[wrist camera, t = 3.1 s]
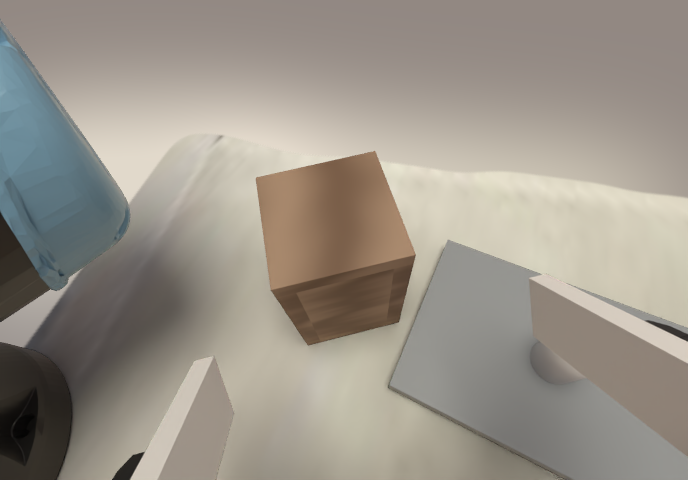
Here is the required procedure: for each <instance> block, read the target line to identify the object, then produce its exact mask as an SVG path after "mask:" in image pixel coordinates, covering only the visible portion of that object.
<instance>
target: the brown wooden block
mask: <svg viewBox="0 0 688 480" xmlns="http://www.w3.org/2000/svg"><path fill="white" fill-rule="evenodd" d="M256 184H257V191H258V198H259V206H260V213H261V221H262V228H263V235H264V243H265V250H266V257H267V265H268V272H269V280H270V287H271V291H272V292H273V294H274V295H275V297H276V298H277V300H278V301H279V303H280V304H281V306H282V307H283V309H284V310H285V312H286V313H287V315H288V316H289V318H290V319H291V321H292V322H293V324H294V325H295V327H296V328H297V330H298V331H299V333H300V334H301V336H302V337H303V339H304V340H305V342H306V343H307V345H311V344H315V343H319V342H323V341H327V340H331V339H335V338H339V337H343V336H347V335H350V334H354V333H358V332H362V331H366V330H370V329H374V328H378V327H382V326H386V325H390V324H393V323H397V322H399V319H400V315H401V311H402V307H403V303H404V299H405V295H406V291H407V287H408V283H409V279H410V275H411V271H412V268H413V264H414V260H415V256H416V254H415V252H414V249H413V247H412V244H411V241H410V239H409V236H408V234H407V231H406V229H405V226H404V224H403V221H402V218H401V216H400V213H399V211H398V208H397V206H396V203H395V201H394V198H393V195H392V193H391V190H390V188H389V185H388V183H387V180H386V178H385V175H384V172H383V170H382V167H381V165H380V162H379V160H378V157H377V155H376V152H375V151H374V152H369V153H364V154H360V155H355V156H351V157H347V158H342V159H338V160H333V161H329V162H324V163H320V164H315V165H311V166H306V167H302V168H297V169H293V170H288V171H284V172H279V173H275V174H270V175H266V176H261V177H257V178H256Z"/></svg>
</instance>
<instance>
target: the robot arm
mask: <svg viewBox="0 0 688 480" xmlns="http://www.w3.org/2000/svg"><path fill="white" fill-rule="evenodd" d="M129 222H130V209H129V205H128V202H127V200H126V198H125V197H124V194H123V193H122V191H121V189H120V188H119V187H118V185H117V183H116V182H115V180H114V179H113V177H112V176H111V174H110V173H109V171H108V170H107V169H106V167H105V166H104V164H103V163H102V161H101V160H100V158H99V157H98V155H97V154H96V153H95V151H94V150H93V148H92V147H91V145H90V144H89V143H88V141H87V140H86V138H85V137H84V135H83V134H82V132H81V131H80V130H79V128H78V127H77V125H76V124H75V123H74V121H73V120H72V119H71V117H70V116H69V114H68V113H67V112H66V110H65V109H64V107H63V106H62V104H61V103H60V102H59V100H58V99H57V97H56V96H55V94H54V93H53V91H52V90H51V89H50V87H49V86H48V85H47V83H46V82H45V80H44V79H43V78H42V76H41V75H40V74H39V72H38V70H37V69H36V68H35V66H34V65H33V64H32V62H31V61H30V59H29V58H28V57H27V55H26V54H25V52H24V51H23V50H22V48H21V47H20V46H19V44H18V43H17V41H16V40H15V39H14V38H13V36H12V34H11V33H10V32H9V30H8V29H7V28H6V26H5V25H4V24H3V22H2V21H1V20H0V322H2V321H3V320H4V319H6V318H8V317H9V316H11V315H12V314H14V313H15V312H17V311H18V310H20V309H21V308H23V307H24V306H26V305H27V304H29V303H30V302H32V301H33V300H35V299H36V298H38V297H39V296H41V295H42V294H44V293H45V292H47V291H49V290H50V289H51V290H55V291H57V290H60V289H62V288H63V287H64V286H65V285H66V284H67V283H68V278H69V277H70V276H71V275H73V274H74V273H76V272H77V271H79V270H80V269H81V268H83V267H84V266H86V265H87V264H88V263H90V262H91V261H92V260H94V259H95V258H97V257H98V256H99V255H101V254H102V253H104V252H105V251H106V250H108V249H109V248H111V247H112V246H113V245H115V244H116V243H117V242H118V241H119V240H120V239H121V238H122V237H123V236H124V234H125V233H126V231H127V229H128V226H129ZM529 287H530V301H531V314H532V328H533V336H534V337H535V338H536V339H537V340H539V341H540V342H541V343H542V344H544V345H545V346H546V347H548V348H549V349H550V350H551V351H553V352H554V353H555V354H557V355H558V356H559V357H560V358H562V359H563V360H564V361H566V362H567V363H568V364H569V365H571V366H572V367H573V368H574V369H576V370H577V371H578V372H580V373H581V374H582V375H583V376H585V377H586V378H587V379H589V380H590V381H591V382H592V383H594V384H595V385H596V386H597V387H599V388H600V389H601V390H603V391H604V392H605V393H606V394H608V395H609V396H610V397H612V398H613V399H614V400H615V401H617V402H618V403H619V404H621V405H622V406H623V407H624V408H626V409H627V410H628V411H629V412H631V413H632V414H633V415H635V416H636V417H637V418H638V419H640V420H641V421H642V422H644V423H645V424H646V425H647V426H649V427H650V428H651V429H652V430H654V431H655V432H656V433H658V434H659V435H660V436H661V437H663V438H664V439H665V440H667V441H668V442H669V443H670V444H672V445H673V446H674V447H676V448H677V449H678V450H679V451H681V452H682V453H683V454H684V455H686V456H687V457H688V334H687V333H684V332H682V331H680V330H678V329H676V328H673V327H671V326H668V325H665V324H661V323H657V322H654V321H650V320H646V321H643V320H641V319H639V318H637V317H635V316H633V315H631V314H629V313H627V312H625V311H623V310H620V309H618V308H616V307H614V306H612V305H610V304H608V303H606V302H604V301H602V300H600V299H598V298H595V297H593V296H591V295H589V294H587V293H585V292H583V291H581V290H579V289H577V288H575V287H573V286H571V285H568V284H566V283H564V282H562V281H560V280H558V279H556V278H554V277H552V276H550V275H548V274H543V275H539V276H535V277H531V278H529ZM233 416H234V411H233V408H232V405H231V403H230V400H229V397H228V394H227V391H226V388H225V385H224V383H223V380H222V377H221V374H220V371H219V368H218V365H217V363H216V360H215V357H214V356H211V357H207V358H203V359H199V360H195V361H194V363H193V364H192V366H191V368H190V370H189V372H188V374H187V376H186V377H185V379H184V381H183V383H182V385H181V387H180V388H179V390H178V392H177V394H176V396H175V398H174V400H173V401H172V403H171V405H170V407H169V409H168V411H167V412H166V414H165V416H164V418H163V420H162V422H161V424H160V425H159V427H158V429H157V431H156V433H155V435H154V436H153V438H152V440H151V442H150V444H149V446H148V447H147V449H146V451H145V452H143V453H139V454H135V455H133V456H132V457H131V458H130V459H129V460H128V461H127V462H126V463H125V464H124V465H123V466H122V467H121V468H120V469H119V470H118V471H117V473H116V474H115V476H114V478H113V479H112V480H216V477H217V474H218V470H219V466H220V463H221V459H222V456H223V452H224V448H225V445H226V441H227V437H228V434H229V430H230V427H231V423H232V419H233ZM70 426H71V401H70V395H69V391H68V387H67V384H66V381H65V379H64V377H63V375H62V373H61V372H60V370H59V369H58V368H57V366H56V365H55V364H54V363H53V362H52V361H51V360H50V359H48V358H47V357H46V356H44V355H42V354H40V353H38V352H36V351H33V350H30V349H26V348H22V347H18V346H15V345H11V344H6V343H2V342H0V480H55V479H56V477H57V475H58V472H59V470H60V467H61V464H62V461H63V458H64V455H65V451H66V448H67V444H68V439H69V433H70Z"/></svg>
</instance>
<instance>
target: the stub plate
mask: <svg viewBox="0 0 688 480" xmlns="http://www.w3.org/2000/svg"><path fill="white" fill-rule="evenodd" d="M539 275H542V274H540V273H537V272H534V271H532V270H529V269H526V268H523V267H521V266H518V265H515V264H513V263H510V262H507V261H504V260H502V259H499V258H496V257H494V256H491V255H488V254H485V253H483V252H480V251H477V250H475V249H472V248H469V247H466V246H464V245H461V244H458V243H456V242H453V241H450V240H448V241H447V243H446V246H445V248H444V250H443V253H442V255H441V258H440V260H439V263H438V265H437V268H436V270H435V273H434V275H433V278H432V280H431V283H430V285H429V288H428V290H427V292H426V295H425V297H424V300H423V302H422V305H421V307H420V310H419V312H418V315H417V317H416V320H415V322H414V325H413V327H412V329H411V332H410V334H409V337H408V339H407V342H406V344H405V347H404V349H403V352H402V354H401V357H400V359H399V362H398V364H397V367H396V369H395V371H394V374H393V376H392V379H391V381H390V384H389V386H388V388H389V389H391V390H393V391H395V392H397V393H399V394H401V395H403V396H405V397H407V398H409V399H411V400H413V401H415V402H417V403H419V404H420V405H422V406H424V407H426V408H428V409H430V410H432V411H434V412H436V413H438V414H440V415H442V416H444V417H446V418H448V419H450V420H451V421H453V422H455V423H457V424H459V425H461V426H463V427H465V428H467V429H469V430H471V431H473V432H475V433H477V434H479V435H481V436H482V437H484V438H486V439H488V440H490V441H492V442H494V443H496V444H498V445H500V446H502V447H504V448H506V449H508V450H510V451H512V452H514V453H515V454H517V455H519V456H521V457H523V458H525V459H527V460H529V461H531V462H533V463H535V464H537V465H539V466H541V467H543V468H545V469H546V470H548V471H550V472H552V473H554V474H556V475H558V476H560V477H562V478H564V479H566V480H688V457H687V456H686V455H684V454H683V453H682V452H681V451H679V450H678V449H677V448H676V447H674V446H673V445H672V444H670V443H669V442H668V441H667V440H665V439H664V438H663V437H661V436H660V435H659V434H658V433H656V432H655V431H654V430H652V429H651V428H650V427H649V426H647V425H646V424H645V423H644V422H642V421H641V420H640V419H638V418H637V417H636V416H635V415H633V414H632V413H631V412H629V411H628V410H627V409H626V408H624V407H623V406H622V405H621V404H619V403H618V402H617V401H615V400H614V399H613V398H612V397H610V396H609V395H608V394H606V393H605V392H604V391H603V390H601V389H600V388H599V387H597V386H596V385H595V384H594V383H592V382H591V381H590V380H589V379H587V378H586V377H585V376H583V375H582V374H581V373H580V372H578V371H577V370H576V369H574V368H573V367H572V366H571V365H569V364H568V363H567V362H566V361H564V360H563V359H562V358H560V357H559V356H558V355H557V354H555V353H554V352H553V351H551V350H550V349H549V348H548V347H546V346H545V345H544V344H542V343H541V342H540V341H539V340H537V339H536V338H535V337H534V336H533V328H532V314H531V301H530V287H529V278H531V277H535V276H539ZM566 284H567V283H566ZM568 285H570V284H568ZM571 286H572V285H571ZM573 287H575V286H573ZM575 288H577V289H579V290H581V291H583V292H585V293H587V294H589V295H591V296H593V297H595V298H598V299H600V300H602V301H604V302H606V303H608V304H610V305H612V306H614V307H616V308H618V309H620V310H623V311H625V312H627V313H629V314H631V315H633V316H635V317H637V318H639V319H641V320H643V321H646V320H650V321H654V322H657V323H661V324H665V325H668V326H671V327H673V328H676V329H678V330H680V331H682V332H684V333H687V334H688V328H686V327H684V326H681V325H678V324H676V323H673V322H670V321H667V320H665V319H662V318H659V317H657V316H654V315H651V314H648V313H646V312H643V311H640V310H638V309H635V308H632V307H629V306H627V305H624V304H621V303H619V302H616V301H613V300H610V299H608V298H605V297H602V296H600V295H597V294H594V293H591V292H589V291H586V290H583V289H581V288H578V287H575Z"/></svg>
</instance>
